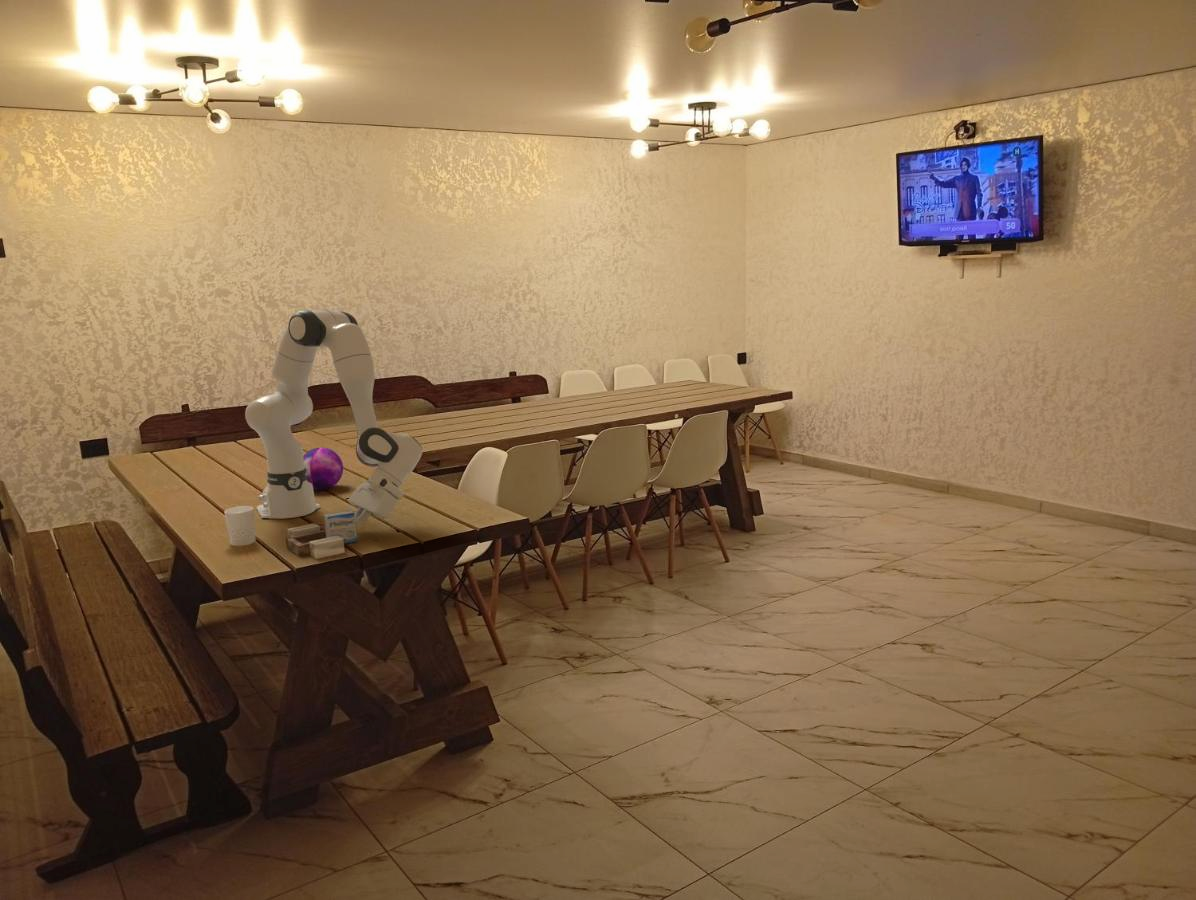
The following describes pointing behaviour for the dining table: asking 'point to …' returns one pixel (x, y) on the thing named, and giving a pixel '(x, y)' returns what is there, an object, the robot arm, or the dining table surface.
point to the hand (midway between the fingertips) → (355, 523)
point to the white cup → (240, 525)
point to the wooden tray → (313, 542)
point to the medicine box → (341, 525)
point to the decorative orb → (323, 468)
